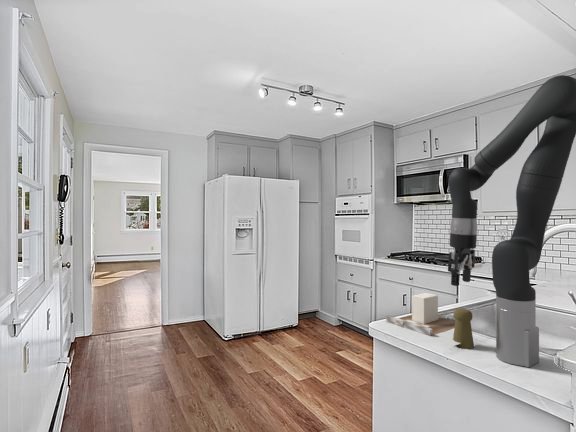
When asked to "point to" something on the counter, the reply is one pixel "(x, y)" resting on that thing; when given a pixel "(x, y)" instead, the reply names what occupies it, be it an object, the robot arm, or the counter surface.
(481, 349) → the counter surface
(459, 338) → the olive knobbed cone
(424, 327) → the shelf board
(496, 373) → the counter surface
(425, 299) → the carton
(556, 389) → the counter surface
